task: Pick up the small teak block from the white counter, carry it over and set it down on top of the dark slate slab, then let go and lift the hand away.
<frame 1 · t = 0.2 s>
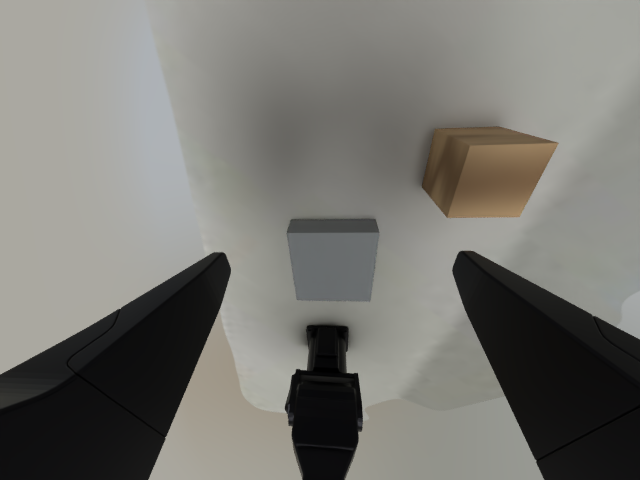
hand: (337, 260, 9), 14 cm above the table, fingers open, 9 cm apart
teak block: (457, 159, 20), on the table
slate slab: (333, 253, 27), on the table
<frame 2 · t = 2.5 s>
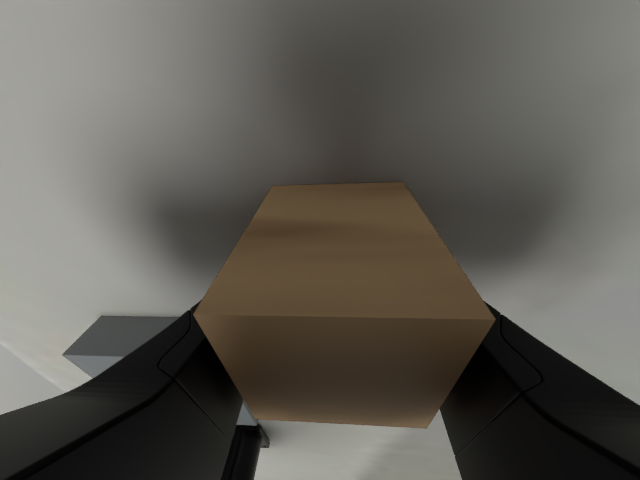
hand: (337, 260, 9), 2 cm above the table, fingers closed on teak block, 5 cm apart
teak block: (337, 237, 10), on the table, touching gripper
slate slab: (197, 352, 18), on the table
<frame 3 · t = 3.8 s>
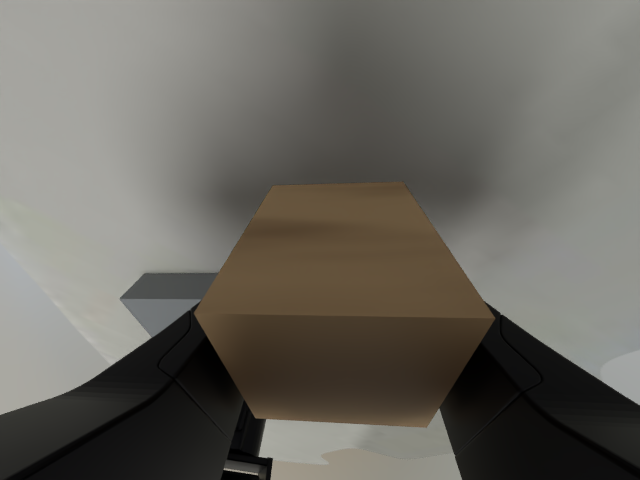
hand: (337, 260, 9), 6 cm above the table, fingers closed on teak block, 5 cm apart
teak block: (337, 237, 10), point 4 cm above the table, touching gripper
slate slab: (219, 309, 21), on the table
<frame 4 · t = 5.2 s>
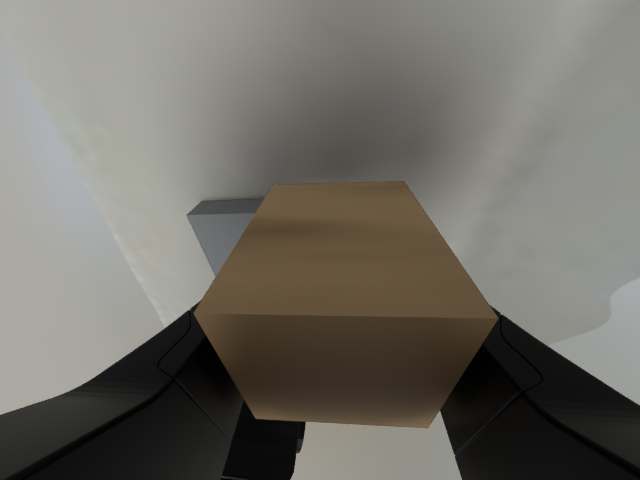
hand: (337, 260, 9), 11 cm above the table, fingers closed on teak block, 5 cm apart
teak block: (337, 236, 10), point 10 cm above the table, touching gripper
slate slab: (263, 241, 23), on the table
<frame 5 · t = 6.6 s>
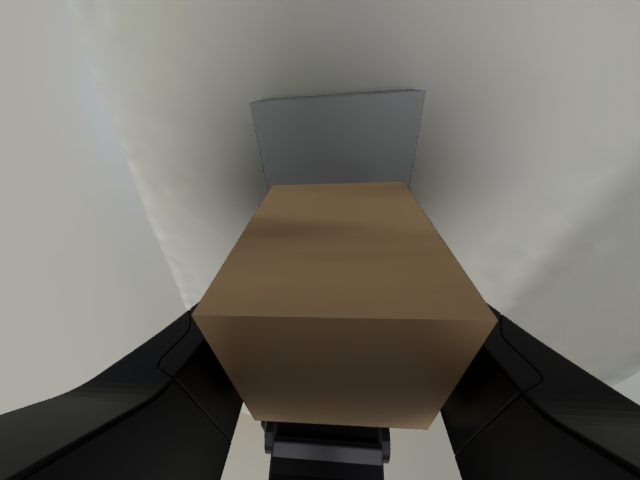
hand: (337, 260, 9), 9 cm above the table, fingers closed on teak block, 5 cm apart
teak block: (337, 237, 10), point 8 cm above the table, touching gripper
slate slab: (336, 173, 17), on the table
when the fingers open (5 cm above the table, at t = 7.8 s): teak block drops 2 cm, resting on slate slab.
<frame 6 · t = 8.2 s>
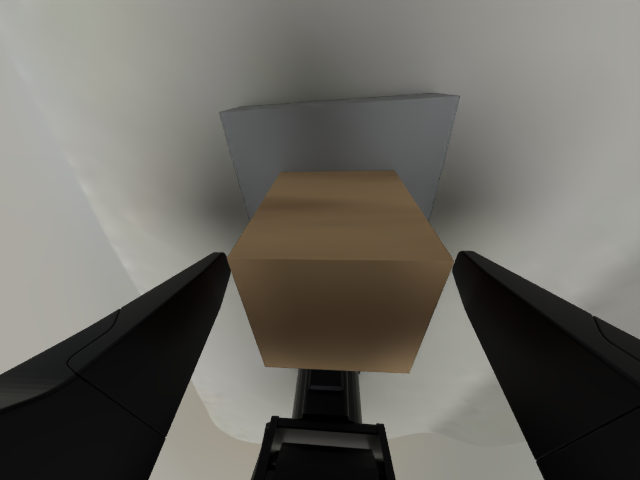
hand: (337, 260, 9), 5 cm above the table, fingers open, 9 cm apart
teak block: (336, 220, 11), point 2 cm above the table, touching slate slab
slate slab: (336, 195, 14), on the table, touching teak block
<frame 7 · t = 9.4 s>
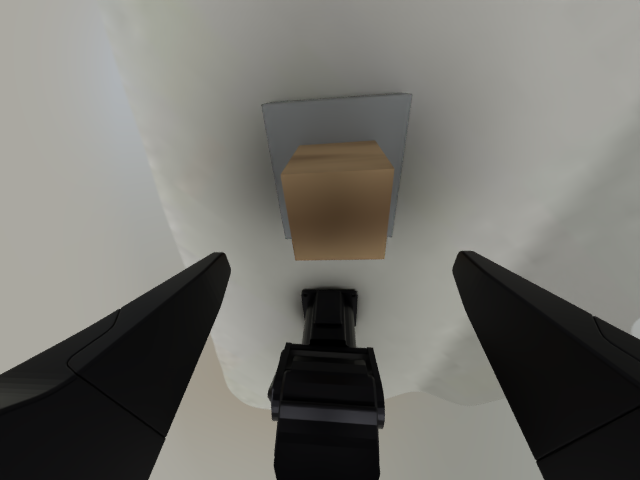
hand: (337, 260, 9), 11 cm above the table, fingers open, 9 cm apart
teak block: (337, 179, 16), point 2 cm above the table, touching slate slab
slate slab: (336, 168, 19), on the table, touching teak block
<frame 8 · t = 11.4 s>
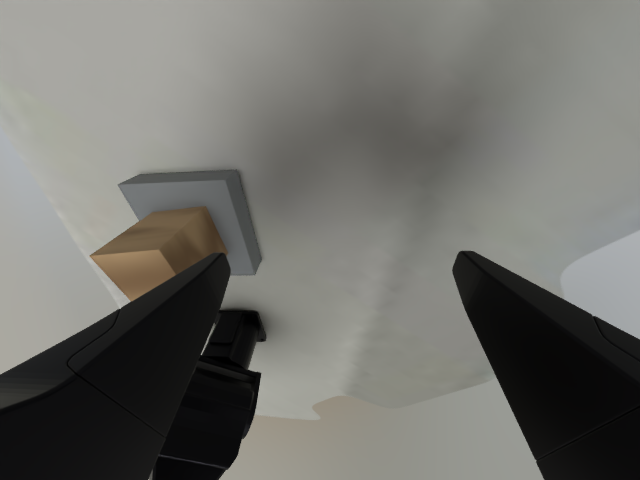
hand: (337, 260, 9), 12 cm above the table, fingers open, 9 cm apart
teak block: (192, 233, 20), point 2 cm above the table
slate slab: (209, 219, 23), on the table
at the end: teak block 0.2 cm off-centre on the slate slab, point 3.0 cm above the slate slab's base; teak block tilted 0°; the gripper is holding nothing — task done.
